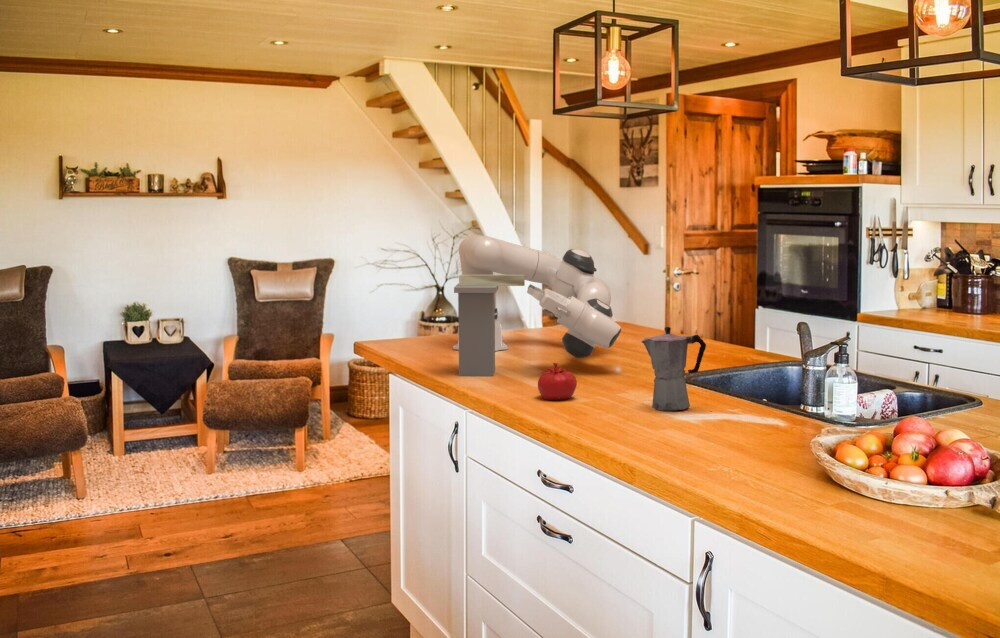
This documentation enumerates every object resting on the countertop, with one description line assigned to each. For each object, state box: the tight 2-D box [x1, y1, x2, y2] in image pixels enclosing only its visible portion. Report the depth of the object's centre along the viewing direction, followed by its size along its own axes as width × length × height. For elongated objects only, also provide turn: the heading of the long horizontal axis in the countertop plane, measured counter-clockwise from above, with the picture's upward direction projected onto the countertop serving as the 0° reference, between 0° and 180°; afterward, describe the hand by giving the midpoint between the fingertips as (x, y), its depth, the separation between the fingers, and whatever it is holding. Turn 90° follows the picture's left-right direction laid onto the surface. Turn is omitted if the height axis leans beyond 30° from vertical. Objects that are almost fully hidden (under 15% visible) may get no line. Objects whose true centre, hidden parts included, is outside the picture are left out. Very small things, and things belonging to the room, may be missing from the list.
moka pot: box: [640, 326, 707, 412], centre depth 229 cm, size 10×15×20 cm, turn 85°
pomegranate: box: [537, 362, 578, 401], centre depth 241 cm, size 10×10×9 cm
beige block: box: [458, 274, 526, 287], centre depth 274 cm, size 4×19×3 cm, turn 87°
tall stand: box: [453, 282, 499, 377], centre depth 276 cm, size 14×12×26 cm
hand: (528, 287), depth 273 cm, fingers open, 8 cm apart
